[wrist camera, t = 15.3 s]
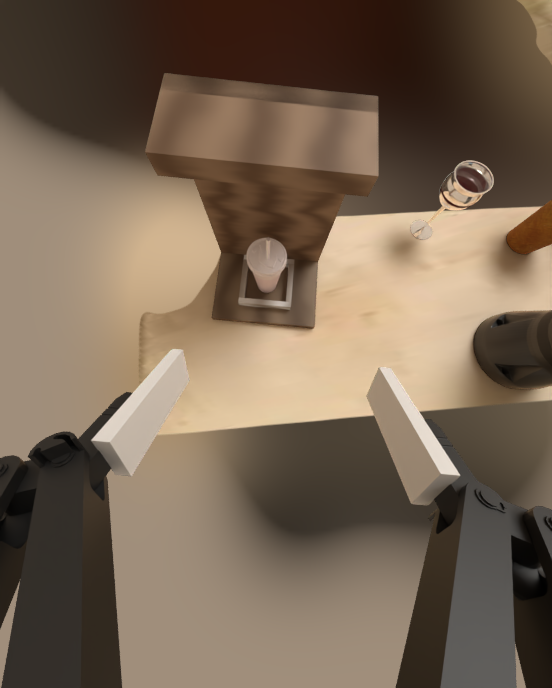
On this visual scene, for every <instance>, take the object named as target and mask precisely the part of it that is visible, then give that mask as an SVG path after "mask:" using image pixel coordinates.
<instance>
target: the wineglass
mask: <svg viewBox="0 0 552 688" xmlns="http://www.w3.org/2000/svg"><path fill="white" fill-rule="evenodd" d="M493 182H494V180H493V175H492V173H491V171H490V170H489V169H488V168H487V167H486V166H485V165H483V164H481V163H479V162H476V161H464V162H462V163H460V164H458V166H457V167H456V168H455V171H454V172H452V173H451V174H450V175H449V176H448V177H447V178H446V179H445V181H444V182H443V183H442V185H441V188H440V191H439V196H440V202H441V204H442V207H441V208H440V209H439V210H438V211H437V212H436V213H435V214H434V215H433V217H432V218H431V219H430V220H429V221H428V222H426V221H424V220H416V221H414V222H413V223H412V224H411V227H410V228H411V232H412V234H413V235H414V236H415V237H416V238H418V239H428V238H429V237H430V236H431V235H432V227H431V225H430V224H429V223H430V222H431V221H432V220H433V219H434V218H436V217H437V216H438V215H439V214H440V213H441V212H442V211H443V210H444V209H445V208H447V209H449V210H461V209H465V208H467V207H470V206H471V205H473V204H475V203H476V202H477V201H478V200H479V199H480V198H481V196H482V195H483V194H484V193H486V192H487V191H489V190H490V189H491V188H492V186H493Z"/></svg>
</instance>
